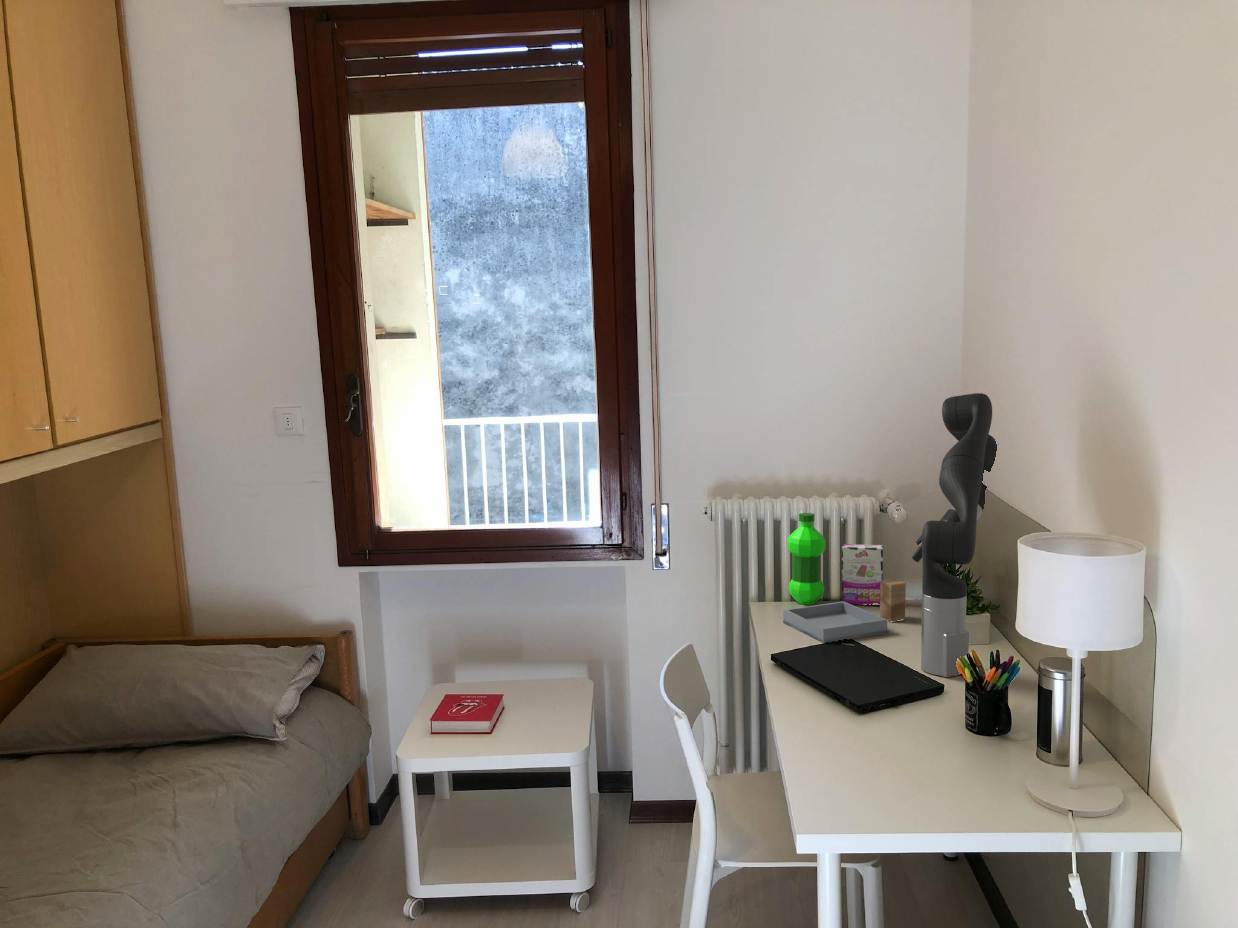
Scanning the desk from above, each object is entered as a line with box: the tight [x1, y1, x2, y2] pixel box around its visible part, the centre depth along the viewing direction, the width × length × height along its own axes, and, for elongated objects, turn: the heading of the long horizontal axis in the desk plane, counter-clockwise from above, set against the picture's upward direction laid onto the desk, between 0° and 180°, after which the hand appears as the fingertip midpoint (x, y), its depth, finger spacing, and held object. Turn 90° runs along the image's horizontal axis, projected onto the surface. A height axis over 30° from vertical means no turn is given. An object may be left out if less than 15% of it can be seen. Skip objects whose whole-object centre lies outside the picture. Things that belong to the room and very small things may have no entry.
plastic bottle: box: [787, 512, 827, 605], centre depth 263 cm, size 10×10×25 cm
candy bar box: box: [841, 543, 884, 606], centre depth 261 cm, size 11×5×16 cm, turn 73°
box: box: [782, 601, 888, 644], centre depth 239 cm, size 19×19×4 cm
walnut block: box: [879, 579, 907, 622], centre depth 245 cm, size 4×4×10 cm
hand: (925, 563), depth 248 cm, fingers open, 8 cm apart
